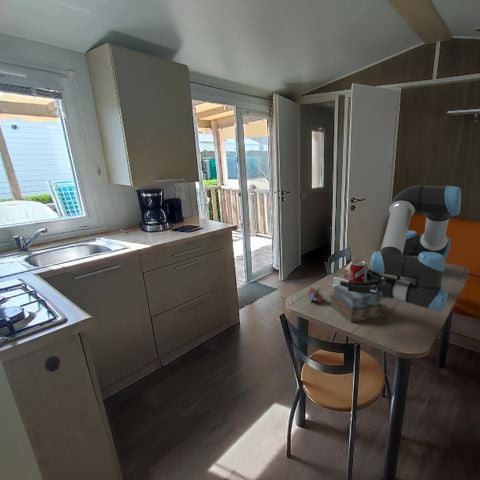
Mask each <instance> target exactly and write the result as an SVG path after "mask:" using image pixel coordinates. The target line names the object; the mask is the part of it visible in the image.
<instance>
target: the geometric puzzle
mask: <svg viewBox="0 0 480 480" xmlns="http://www.w3.org/2000/svg"><path fill="white" fill-rule="evenodd" d="M320 290H322V289H321V288H318V289H315V288H314V287H310V289H308V293H307V297H309V298H308V299H309V300H310V303H314V302H315V303H316V302H317V303H318V304H321V302H322V299H323V296H324V294H323V293H320ZM310 298H311V299H310Z"/></svg>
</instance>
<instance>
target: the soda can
mask: <svg viewBox="0 0 480 480" xmlns="http://www.w3.org/2000/svg"><path fill="white" fill-rule="evenodd" d="M366 263H367V262H366V261H364V260H358V259H356V260H352V264H351V265H350V281H351V282H367V281H368V278H367V271H368V264H367V265H366Z"/></svg>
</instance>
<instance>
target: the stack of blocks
mask: <svg viewBox="0 0 480 480" xmlns="http://www.w3.org/2000/svg"><path fill="white" fill-rule="evenodd" d="M352 261H353V260H352ZM352 261H350V262H349V264H347V266H346V267H345V268H344V273H343V274H344V276H343V279H345V280H350V274H349V273H348V267H350V265H351V264H352ZM366 265H367V266H368V262H366Z"/></svg>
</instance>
